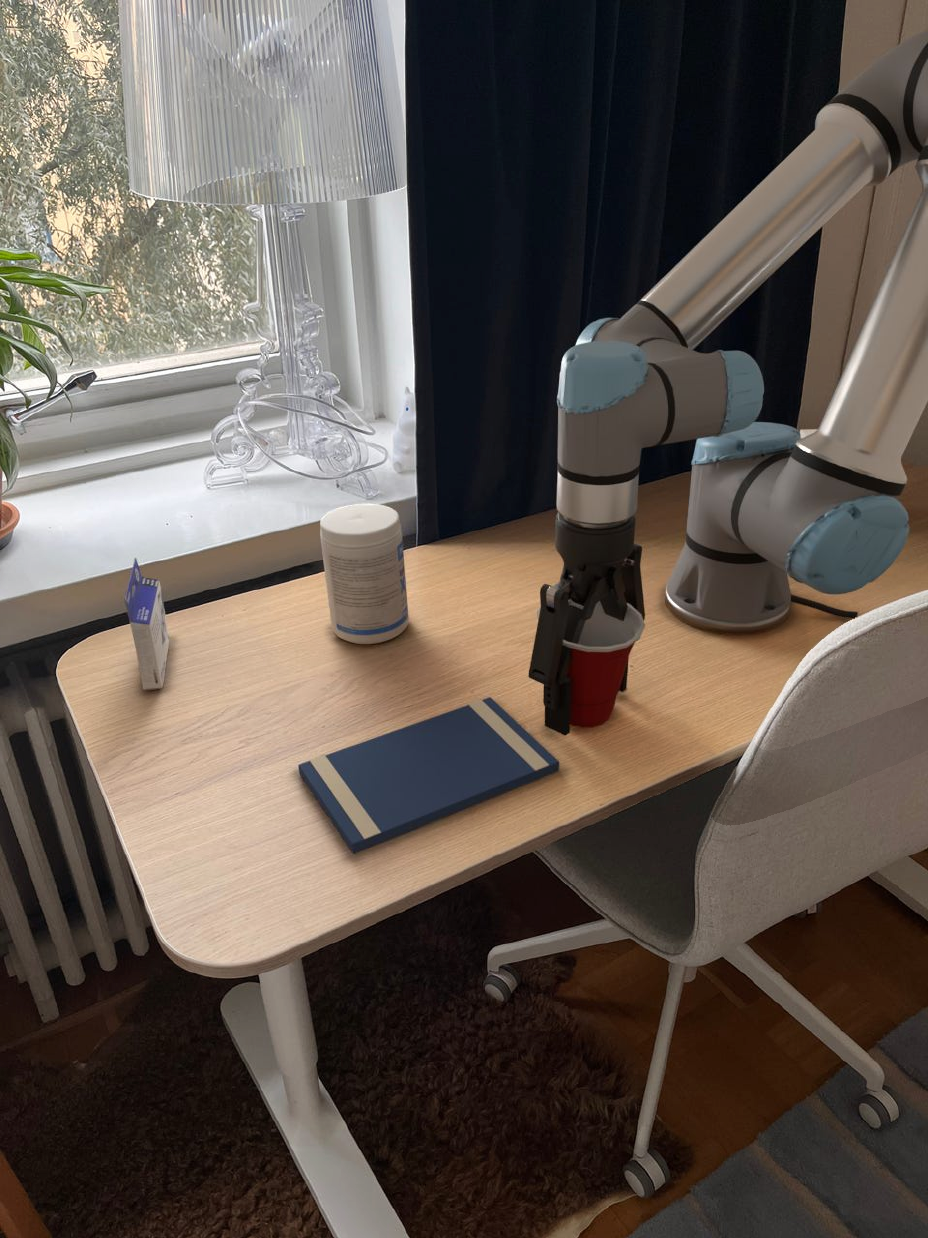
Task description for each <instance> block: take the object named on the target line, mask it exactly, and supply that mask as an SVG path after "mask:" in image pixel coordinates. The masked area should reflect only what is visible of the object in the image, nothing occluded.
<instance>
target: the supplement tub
mask: <svg viewBox="0 0 928 1238" xmlns="http://www.w3.org/2000/svg"><path fill="white" fill-rule="evenodd" d="M319 525H320V531H319V535H320V544H321V553H322V560H323V569H324V577H325V587H326V592H327V601H328V608H329V609H328V610H329V618H330V624H331V628H332V631H333V633H334V634H335V635H336V636H337V637H339V638H340V639H342V640H344V641H347V642H349V643H352V644H358V645H372V644H373V645H375V644H379V643H384V642H388V641H390V640H392V639H394V638H396V637H397V636H399V635H401V634H402V633H403V632H404V631H405V630H406V628H407V626H408V624H409V609H408V608H409V605H408V591H407V580H406V566H405V554H404V542H403V530H402V524H401V521H400V514H399V513H398V512H397V510H395V509H394V508H392V507H390V506H387V505H384V504H380V503H354V504H349V505H347V504H346V505H343V506H339V507H337V508H334V509H332V510H330V511H328V512H327V513H325V514H324V515H323V516H322V517H321V519H320V522H319Z"/></svg>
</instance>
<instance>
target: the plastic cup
mask: <svg viewBox="0 0 928 1238" xmlns="http://www.w3.org/2000/svg"><path fill="white" fill-rule="evenodd" d="M570 600H571V599H570ZM571 605H573V606H575V607H578V608H580V609H583V607H584V606H582V605H579V604H577V603H574V602H573V601H572V600H571ZM627 605H628V607H627V611H626V615H625V618H624V621H621V620H619V619H616V618H614V617H611V616H609V615H607V614H605V613H604V610H603V608H602V605H601V603H600V601H599V602H598V603H597V604H596V605H595V608H594V611H593V614H592V617H591V618H590V619H587V620H586V621H585V624H584V627H583V630H582V633H581V636H580V639H579V642H578V644H575V643H571V642H567V641H565V640H563V644H562V645H564V646H566V647H569V648H571V650H572V654H573V660H572V663H571V666H570V669H569V672H568V675H567V678H569V679H572V690H571V716H570V726H572V727H577V728H582V729H586V728H588V729H589V728H596V727H600V726H603V725H604V724H605V723H607V722H608V721H610V718H611V716H612V715H613V714H612V713H613V712H614V710H615V709H614V708H615V704H616V700H617V696H618V693H619V692H620V691H619V689H620V685H621V682H622V678H623V675H624V671H625V668H626V664H627V661H628V657H629V658H630V654H631V652H632V650H633V647H634V645H636V642H638V641H639V640H640V639H641V637H642V634H643V632H644V630H645V627H646V624H645V620H644V621H643V618H642V615H641V614H640V613H639V612H638V611H637V610H636V609H635V608H634V607H633V606H631V605H630V604H629V603H627ZM540 609H541V605H540V606H539V608H538V610H537V611H536V615H537V621H538V620H539V614H540ZM628 662H629V661H628Z"/></svg>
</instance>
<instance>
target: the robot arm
mask: <svg viewBox="0 0 928 1238" xmlns="http://www.w3.org/2000/svg"><path fill="white" fill-rule="evenodd" d="M913 161H916V163H915V167H914V168H915V170H916V173H917V175H918V177H919V180H920V182H921V188H922V190H921V193H920V195H919V198H918V200H917V202H916V205H915V206H914V209H913V211H912V213H911V216H910V217H909V220H908V223H907V225H906V226H905V227H906V228H905V230H904V232H903V234H902V236H901V239H900V241H899V244H898V246H897V247H896V251H895V253H894V255H893V257H892V259H891V262H890V264H889V266H888V269H887V271H886V273H885V275H884V278H883V280H882V282H881V284H880V287H879V290H878V292H877V294H876V296H875V297H874V300H873V303H872V305H871V307H870V310H869V312H868V315H867V317H866V319H865V322H864V323H863V325H862V326H863V327H862V328H861V331H860V332H859V334H858V338H857V339H856V342H855V344H854V346H853V349H852V351H851V353H850V355H849V358H848V360H847V362H846V364H845V367H844V368H843V371H842V374H841V376H840V379H839V381H838V383H837V386H836V388H835V390H834V392H833V395H832V397H831V399H830V401H829V404H828V406H827V408H826V411H825V413H824V415H823V417H822V420H821V422H820V424H819V427H818V428H817V429H818V430H817V431H815V432H814V433H813V434H810V435H808V436H806V437H804V438H802V439H801V435H800V430H798V429H797V428H795V427H793V426H790V425H787V424H784V423H783V424H782V423H776V422H767V421H765V422H764V421H756V420H757V419H758V417H759V415H760V413H761V410H762V407H763V401H764V397H763V396H764V393H765V384H764V378H763V375H762V372H761V369H760V366H759V365H758V363H757V362H756V360H755V359H754V358H753V357H752V356H751V355H750V354H748V353H746V352H745V351H741V350H723V349H718V350H716V351H713V352H710V353H703V352H698V351H696V350H695V349H696V347H698V346H699V345H700V343H702V342H703V341H704V340H705V339H706V338H707V337H708V336H709V335H710V334H711V333H712V332H713V331H714V330H715V329H717V327H719V325H721V323H722V322H724V321H725V320H726V319H727V318H728V317H729V316H730V315H731V314H732V313H733V312H734V311H735V310H736V309H737V308H738V307H739V306H740V305H741V304H742V303H744V302H745V301H746V299H748V298H749V297H750V296H751V295H752V294H753V293H754V292H755V291H756V290H757V289H759V287H760V286H761V285H762V284H764V282H765V281H767V279H769V278H770V277H771V276H772V275H773V274H774V273H775V272H776V271H777V270H778V269H779V268H780V267H781V266H782V265H783V264H784V263H785V262H786V261H788V260H789V259H790V257H792V256H793V255H794V254H795V253H796V252H797V251H798V250H799V249H800V248H801V247H803V245H804V244H805V243H806V242H807V241H808V240H810V238H811V237H813V235H815V234H816V233H817V232H818V231H819V230H820V229H821V228H822V227H823V226H824V225H825V224H826V223H827V222H828V221H830V220H831V218H832V217H833V216H835V215H836V214H837V213H838V212H839V210H841V209H842V208H843V207H844V206H845V205H846V204H847V203H848V202H849V201H850V200H851V199H853V197H854V196H855V195H856V194H858V193H859V191H861V190H862V189H863V188H864V187H875V186H878V185H880V184H882V183H883V182H885V180H886V179H888V178H889V177H890V176H892V174H893V173H894V172H895V171H896V170H898V169H899V168H901V167H902V166H904V165H906V164H908V163H910V162H913ZM560 364H561V365H560V372H559V380H558V381H559V382H558V391H557V396H556V403H557V407H558V408H557V409H558V410H557V411H558V413H557V414H558V415H557V423H558V424H557V467H556V468H557V482H556V511H558V512H557V513H556V514H555V529H554V532H555V533H554V546H555V550H556V552H557V553H558V555H559V556H560V557H561V559H562V561H563V565H562V566H563V567H562V571H561V573H560V578H559V581H558V582H556V583H555V584H554V585H551V584H548V583H543V584H542V586H541V587H540V590H539V600H540V601H539V602H540V606H541V609H540V614H539V620H538V619H537V624H536V625H537V626H536V631H535V636H534V641H533V648H532V651H531V653H532V654H531V658H530V664H529V668H528V678H529V679H531V680H533V681H535V682H537V683H539V684H542V685H543V688H542V689H543V695H542V697H543V699H542V703H543V706H544V727H546V728H548V729H551V730H552V731H553V732H556V733H558V734H560V735H562V736H564V737H567V736H568V735H569V734H570V733H571V725H570V716H571V690H572V679H569V678H567V675H568V672H569V669H570V666H571V663H572V660H573V654H572V650H571V648H569V647H566V646H564V645H562V644H563V640H565V641H567V642H571V643H575V644H578V642H579V639H580V636H581V633H582V630H583V627H584V624H585V621H586V620H587V619H590V618H591V617H592V614H593V611H594V608H595V605H596V604H597V603H598V602H599V601H600V603H601V605H602V608H603V610H604V613H605V614H607V615H609V616H611V617H614V618H616V619H619V620H621V621H624V618H625V615H626V611H627V607H628V605H627V603H629V604H630V605H631V606H633V607H634V608H635V609H636V610H637V611H638V612H639V613H640V614H641V615H642V618H643V621H644V622H645V620H646V609H645V601H644V589H643V580H642V571H641V570H642V569H641V561H642V556H643V555H642V554H643V547H642V545H639V544H636V543H635V536H636V535H635V533H636V520H637V519H636V516H635V514H636V513H637V509H638V497H639V477H640V464H641V457H642V456H641V455H642V449H644V448H650V447H651V448H653V447H658V446H662V445H667V444H675V443H679V442H687V441H692V440H696V442H695V446H694V450H693V451H694V452H693V456H692V460H691V463H690V465H691V474H690V475H691V479H690V486H689V487H690V488H689V497H688V498H689V500H688V509H687V510H688V511H687V521H686V531H685V532H686V533H685V539H684V540H685V541H684V546H683V548H682V549H681V552H680V554H679V556H678V559H677V560H676V563H675V565H674V566H673V569H672V571H671V573H670V574H669V577H668V580H667V583H666V585H665V593H664V602H665V606H666V607H667V610H668V611H669V612H670V613H671V614H672V615H673V616H674V617H676V618H677V619H678V620H680V621H682V622H683V623H686V624H687V625H689V626H692V627H694V628H697V629H700V630H704V631H707V632H712V633H718V634H726V635H751V634H752V635H753V634H758V633H764V632H767V631H770V630H773V629H775V628H778V627H779V626H780V625H782V624H783V623H785V622H786V620H787V619H788V617H789V616H790V611H791V605H792V603H794V604H798V605H801V606H805V607H808V608H812V609H815V610H817V611H821V612H823V613H826V614H830V615H833V616H835V617H840V618H846V619H855V617H857V618H858V615H859V614H858V613H859V612H858V611H850V610H844V609H839V608H835V607H833V606H830V605H827V604H824V603H821V602H818V601H815V600H812V599H808V598H805V597H801V596H798V595H794V594H792V591H791V586H790V582H789V577H790V578H791V579H793V580H794V581H795V582H797V583H799V584H804V585H806V586H808V587H810V588H811V589H813V590H815V591H816V592H820V593H822V594H826V595H844V594H848V593H852V592H853V593H854V592H856V591H858V590H861V589H862V588H863V587H865V586H866V585H867V584H869V583H873V582H874V581H876V580H877V579H878V578H879V577H881V576H882V575H883V574H885V572H887V570H888V569H889V568H890V567H891V566H892V565H893V564H894V563H895V562H896V560H897V558H898V557H899V556H900V554H901V553H902V551H903V549H904V547H905V545H906V543H907V540H908V537H909V533H910V525H909V524H908V522H909V520H910V519H909V514H908V511H907V510H906V508H905V507H904V505H903V504H902V502H900V501H899V500H900V498H901V495H902V492H903V491H904V489H905V486H906V484H907V482H908V477H907V474H906V472H905V468H904V467H903V464H902V456H903V454H904V452H905V450H906V448H907V446H908V444H909V442H910V440H911V437H912V435H913V433H914V431H915V429H916V427H917V425H918V423H919V421H920V418H921V416H922V415H923V412H924V410H925V408H926V406H927V404H928V28H925V29H924V30H922V31H920V32H918V33H916V34H915V35H913V36H910V37H908V38H907V39H906V40H904V41H902V42H901V43H899V44H897V45H896V46H895V47H893V48H892V49H890V50H889V51H887V52H885V54H883V55H882V56H880V57H879V58H878V59H877V60H875V61H873V63H871V64H870V65H869V66H867V67H866V68H865V69H864V70H862V71H861V72H860V73H859V74H858V75H857V76H856V77H854V78H853V79H852V80H851V81H850V82H849V83H848V84H846V85H845V86H844V87H843V88H842V89H841V90H840V91H839V92H838V93H837V94H836V95H835V96H834V97H832V98H831V100H830V101H828V102H827V103H826V104H825V105H824V106H823V107H822V108H821V109H820V111H819V112H818V113H817V114H816V118H815V121H814V130H813V131H812V132H811V133H810V134H809V135H807V137H806V138H804V140H803V141H802V142H801V143H800V144H799V145H798V146H797V147H795V149H794V150H793V151H792V152H791V153H789V154H788V156H786V157H785V158H784V160H783V161H781V163H779V164H778V165H777V166H776V167H775V168H774V169H773V170H772V171H771V172H770V173H768V175H767V176H766V177H765V178H764V179H762V181H761V182H760V183H759V184H757V185H756V186H755V188H753V189H752V190H751V192H750V193H748V194H747V195H746V196H745V197H744V198H743V200H741V201H740V202H739V203H738V204H737V205H736V206H735V207H734V208H733V209H732V210H731V211H730V212H729V213H728V214H727V215H726V216H725V217H724V218H723V219H722V220H721V221H720V222H719V223H718V224H716V226H714V228H713V229H712V230H710V232H708V233H707V235H705V236H704V237H703V238H702V239H701V240H700V241H699V242H698V243H697V244H696V245H695V246H694V247H693V248H692V249H690V251H689V252H688V253H687V254H686V255H685V256H684V257H683V258H681V260H680V261H678V263H676V264H675V265H674V266H673V268H671V270H670V271H668V273H667V274H666V275H664V277H662V278H661V279H660V280H659V281H657V283H656V284H655V285H654V286H653V287H652V288H651V289H650V290H649V291H648V292H647V293H646V294H645V295H644V296H643V297H641V298H640V300H638V301H637V303H635V304H634V305H633V306H632V307H631V308H630V309H629V310H628V311H627V312H625V314H623V315H622V316H621V318H619V317H603V318H599V319H597V320H596V321H592V322H591V323H589V324H588V325H587V326H586V327H585V328H584V329H583V330H582V332H581V333H580V335H579V336H578V338H577V340H576V343H575V345H574V346H572V347H570V348H569V349H568V350H566V352H565V353H564V355H563V357H562V359H561V362H560ZM570 599H571V600H572V601H573V602H574V603H577V604H579V605H582V606H584V607H583V609H580V608H578V607H575V606H573V605H571V600H570ZM855 620H856V619H855ZM629 658H630V656H629V657H628V661H627V664H626V668H625V671H624V675H623V678H622V682H621V685H620V689H619V691H618V692H620V693H624V692H625V691H627V687H628V673H629V661H630V660H629Z"/></svg>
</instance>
